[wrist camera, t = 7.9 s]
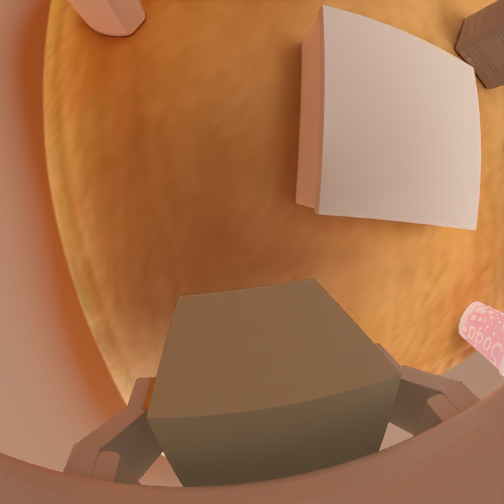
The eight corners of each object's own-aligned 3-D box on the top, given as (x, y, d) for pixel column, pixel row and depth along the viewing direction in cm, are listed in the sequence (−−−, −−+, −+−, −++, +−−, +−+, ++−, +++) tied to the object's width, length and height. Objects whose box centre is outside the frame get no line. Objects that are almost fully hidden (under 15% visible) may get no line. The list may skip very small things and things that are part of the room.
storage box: (298, 41, 18) (323, 4, 12) (431, 81, 20) (473, 67, 14) (291, 205, 21) (318, 214, 15) (429, 218, 23) (475, 230, 17)
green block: (178, 295, 10) (146, 417, 4) (314, 278, 11) (401, 374, 5) (202, 398, 12) (202, 515, 6) (314, 381, 12) (364, 486, 6)
